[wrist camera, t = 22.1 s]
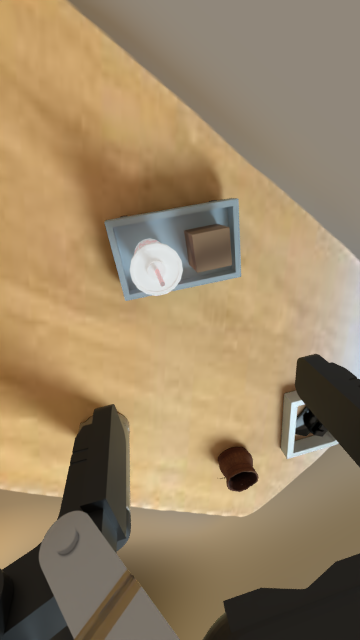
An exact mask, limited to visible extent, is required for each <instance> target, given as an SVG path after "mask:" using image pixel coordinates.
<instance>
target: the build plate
mask: <svg viewBox="0 0 360 640" xmlns="http://www.w3.org/2000/svg"><path fill="white" fill-rule="evenodd" d="M327 431H328V430H327V429H326V428H325V427H324V425H323V424H322V423H321V422H320V421H319V420H318V418H317V417H316V416H315V415H314V414H313V413H312V412H311V410H310V409H309V408H308V407H307V406H306V408H305V409H304V410H303V411H302V413H301V414H300V415H299V416H298V418H297V419H296V429H295V434H298V435H302V436H307V435H308V434H309V433H310V432H311V433H313V434H314V435H316V436H320V437H323V435H324V434H325V433H326V432H327Z"/></svg>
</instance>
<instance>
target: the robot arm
mask: <svg viewBox="0 0 360 640" xmlns="http://www.w3.org/2000/svg"><path fill="white" fill-rule="evenodd" d="M295 388H296V391H297V394H298V396H299V397H300V399H301V400H302V401H303V402H304V403H305V405H306V406H307V407H308V408H309V409H310V410H311V412H312V413H313V414H314V415H315V416H316V417H317V418H318V420H319V421H320V422H321V423H322V424H323V425H324V427H325V428H326V429H327V430H328V431H329V432H330V434H331V435H332V436H333V437H334V438H335V439H336V440H337V442H338V443H339V444H340V445H341V446H342V447H343V448H344V450H345V451H346V452H347V453H348V454H349V455H350V457H351V458H352V459H353V460H354V461H355V462H356V464H357V465H358V466H359V467H360V379H357V377H356V376H355V375H353V374H352V373H351V372H350V371H348V370H347V369H346V368H344V367H341V366H339V365H337V364H335V363H328V362H327V361H326V360H325V359H324V358H322V357H321V356H320V355H318V354H313V355H309V356H305V357H301V358H299V359H298V360H297V368H296V380H295ZM72 452H73V455H72V456H71V461H70V466H69V471H68V475H67V480H66V485H65V490H64V495H63V500H62V504H61V509H60V513H59V516H58V519H57V521H56V522H55V523H54V524H53V525H52V526H51V527H50V529H49V530H48V531H47V533H46V535H45V537H44V539H43V541H42V542H41V543H40V544H39V545H38V546H37V547H35V548H34V549H33V550H31V551H30V552H28V553H27V554H25V555H24V556H22V557H21V558H19V559H18V560H16V561H15V562H13V563H12V564H10V565H9V566H7V567H6V568H4V569H2V570H1V569H0V640H180V639H179V638H178V636H177V635H176V634H175V632H174V631H173V630H172V628H171V627H170V626H169V624H168V623H167V621H166V620H165V619H164V617H163V616H162V614H161V613H160V612H159V610H158V609H157V607H156V606H155V605H154V603H153V602H152V601H151V599H150V598H149V596H148V595H147V594H146V592H145V591H144V589H143V588H142V587H141V585H140V584H139V583H138V581H137V580H136V579H135V578H134V576H133V575H131V573H130V572H129V571H128V569H127V568H126V567H125V566H124V564H123V563H122V561H121V560H120V558H119V557H118V556H117V553H116V552H117V551H118V550H119V549H120V548H122V547H123V546H124V545H125V543H126V542H127V541H128V538H129V536H130V531H131V530H130V529H131V515H130V447H129V422H128V420H127V419H126V418H125V417H124V416H123V415H121V414H119V413H117V410H116V407H115V405H114V404H112V405H108V406H104V407H100V408H96V409H95V410H94V413H93V416H92V417H90V418H89V419H88V420H87V421H86V422H84V423H81V424H80V427H79V432H78V435H77V436H76V438H75V442H74V447H73V451H72ZM223 602H224V608H225V613H224V614H223V615H222V616H221V617H220V618H218V619H217V620H216V622H215V623H214V624H213V625H212V626H211V628H210V629H209V631H208V632H207V634H206V636H205V637H204V639H203V640H360V554H357V555H354V556H351V557H349V558H345V559H343V560H340V561H337V562H335V563H334V564H333V565H332V566H331V567H330V568H329V569H327V571H326V572H324V573H323V574H322V575H321V576H320V577H319V578H318V579H317V580H316V581H314V583H312V584H311V585H310V586H309V587H308V588H306V589H276V588H274V589H273V588H260V589H257V590H254V591H251V592H248V593H245V594H242V595H240V596H237V597H234V598H231V599H228V600H225V601H223Z"/></svg>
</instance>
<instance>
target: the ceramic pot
mask: <svg viewBox="0 0 360 640" xmlns="http://www.w3.org/2000/svg"><path fill="white" fill-rule="evenodd" d="M218 461H219V467H220V470H221V472H222V474H223V475H224V476H225V477H224V478H226V479H227V487H228V489H230V490H232V491H238V492H241V491H243V490H246V489H248V488H249V487H250V486H252V485H253V484H255V483H256V482H257V481H258V474H257V473H256V471H255V469H254V468H253V459H252V456H251V454H250V453H249V452H248V451H247V450H246V449H245V448H243V447H233V448H230V449H227V450H225V451H224V452H222V453H221V454H220V456H219V457H218ZM219 479H220V478H219ZM221 479H223V478H221Z"/></svg>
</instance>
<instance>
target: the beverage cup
mask: <svg viewBox="0 0 360 640" xmlns="http://www.w3.org/2000/svg"><path fill="white" fill-rule="evenodd" d="M182 272H183V268H182V261H181V259H180V257H179V256H178V254H177V252H176V251H175V250H173V249H172V248H171V247H169V246H168V245H166V244H162V243H160V242H158V241H157V240H155V239H150V238H149V239H144V240H142V241H141V242H139V243H138V245H137V246H136V248H135V252H134V256H133V257H132V259H131V265H130V274H131V278H132V281H133V283H134V284H135V285H136V287H137V288H138V289H139V290H141V291H142V292H144V293H146V294H149V295H155V296H158V295H163V294H167V293H168V292H170V291H171V290H173V289H175V287H176V286H177V285H178V283H179V282H180V280H181V276H182Z"/></svg>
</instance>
